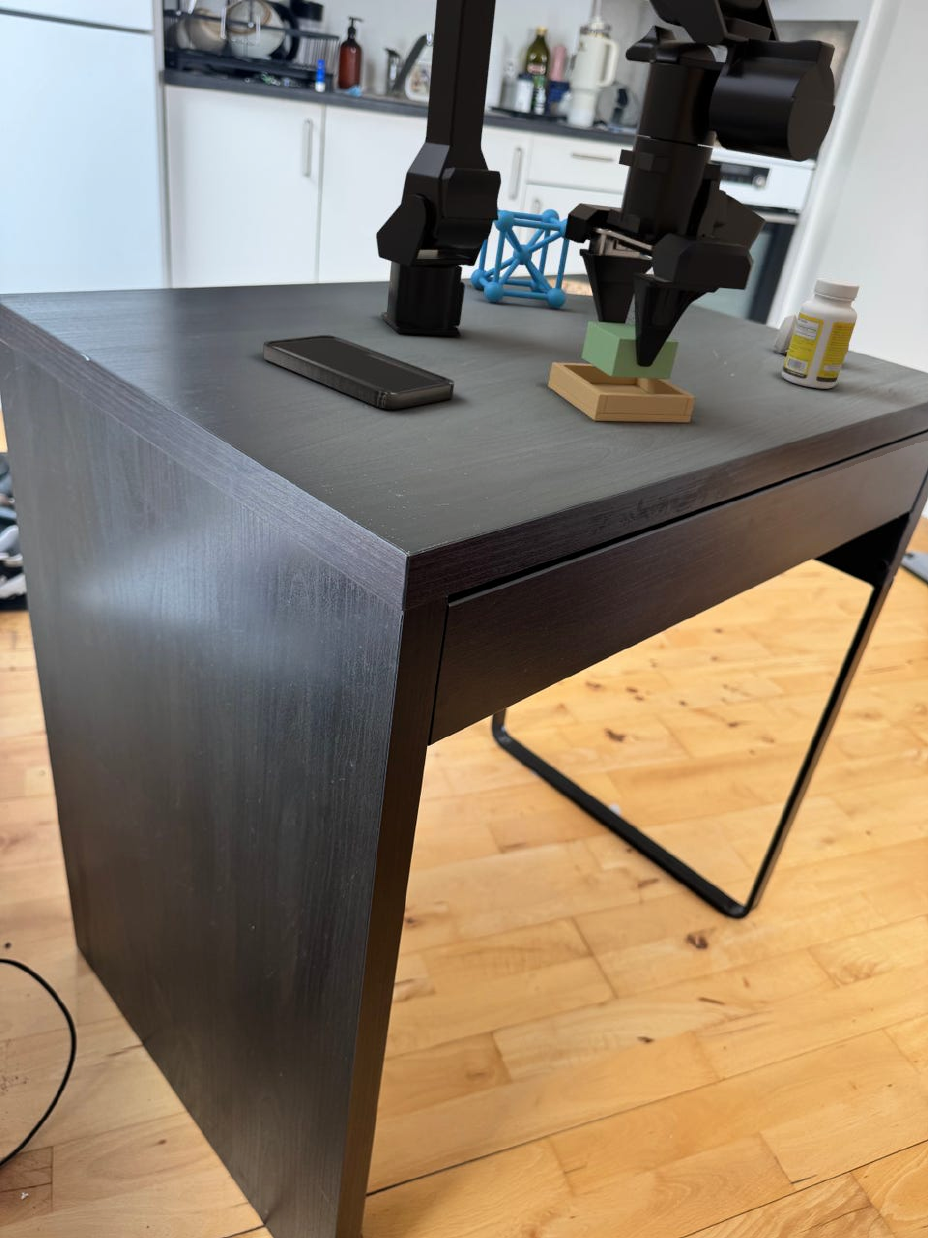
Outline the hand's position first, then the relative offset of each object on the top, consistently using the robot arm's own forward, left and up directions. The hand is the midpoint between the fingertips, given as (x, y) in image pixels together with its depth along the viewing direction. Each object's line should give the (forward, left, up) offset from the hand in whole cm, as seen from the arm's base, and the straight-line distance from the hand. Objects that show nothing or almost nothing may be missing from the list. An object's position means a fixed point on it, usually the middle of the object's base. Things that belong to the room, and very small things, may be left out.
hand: (626, 356), depth 75 cm
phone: (-21, +5, -4) cm, 22 cm away
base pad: (0, 0, -4) cm, 4 cm away
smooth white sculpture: (+35, +19, -4) cm, 40 cm away
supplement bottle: (+27, +9, -4) cm, 29 cm away
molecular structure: (+8, +41, -4) cm, 42 cm away
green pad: (0, 0, -1) cm, 1 cm away
